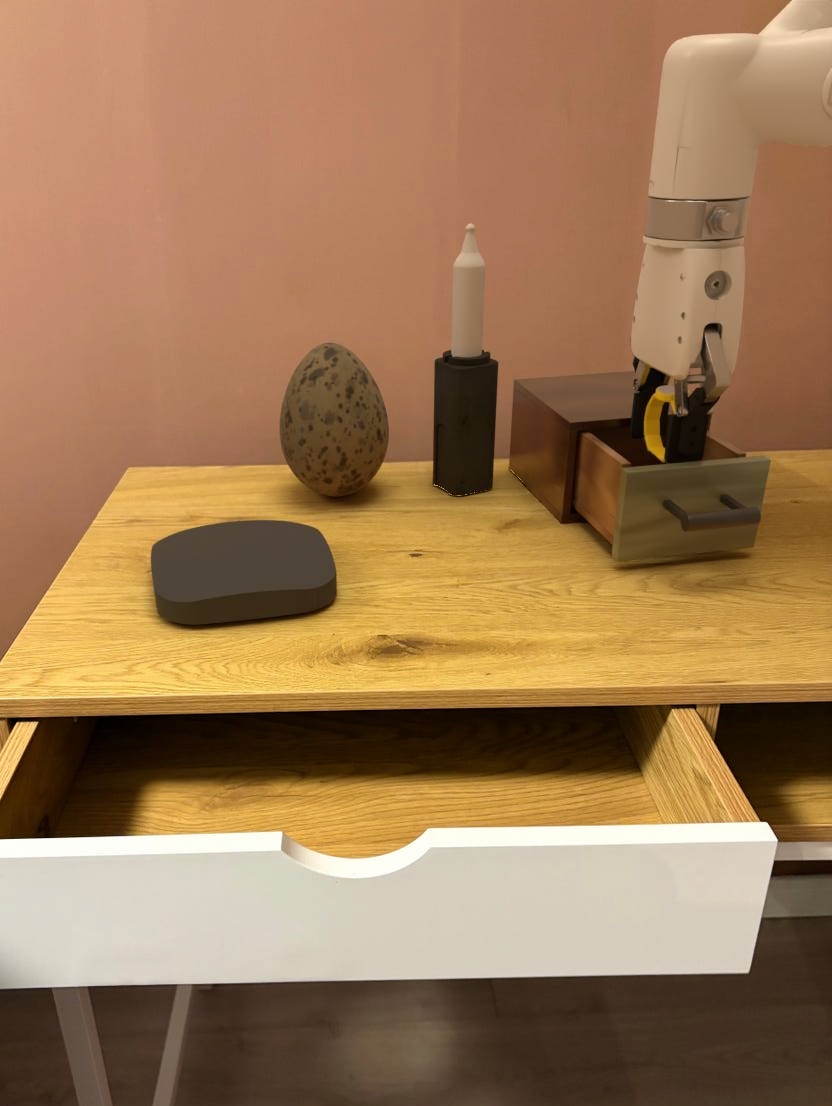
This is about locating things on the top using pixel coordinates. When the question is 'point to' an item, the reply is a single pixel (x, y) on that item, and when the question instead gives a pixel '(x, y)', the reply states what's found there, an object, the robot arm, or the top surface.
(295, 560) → the media streaming box
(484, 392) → the candle
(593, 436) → the drawer
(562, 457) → the cabinet
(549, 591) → the top surface
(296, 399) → the decorative egg
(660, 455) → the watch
